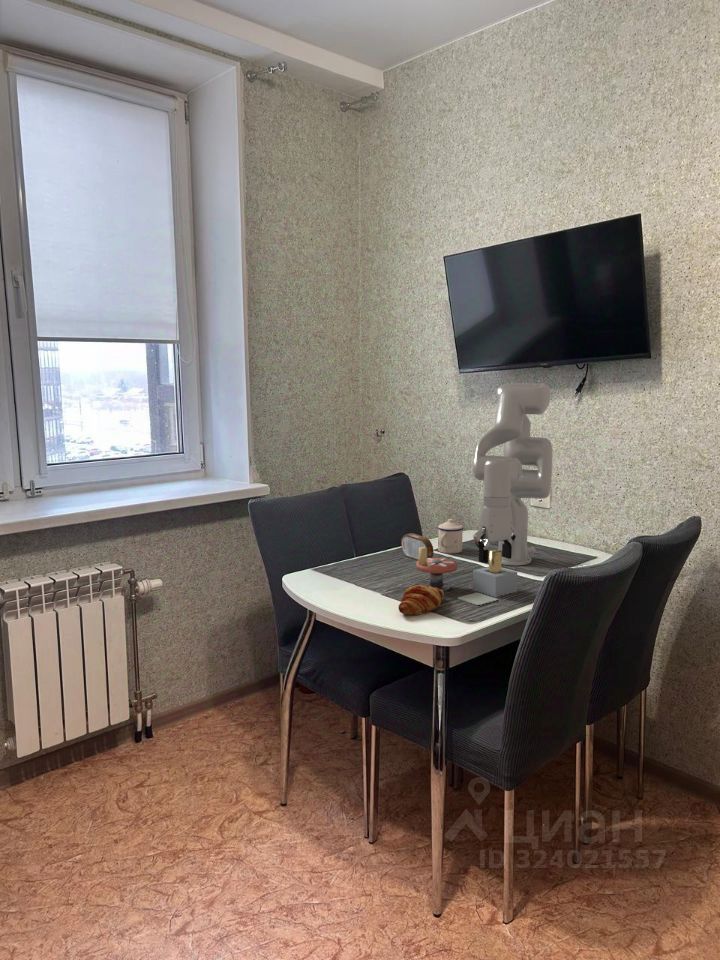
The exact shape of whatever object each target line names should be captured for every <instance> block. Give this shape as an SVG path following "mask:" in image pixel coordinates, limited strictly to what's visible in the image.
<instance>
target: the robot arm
mask: <svg viewBox="0 0 720 960" xmlns="http://www.w3.org/2000/svg"><path fill="white" fill-rule="evenodd" d="M495 395H496V402H497V404H496V405H497V407H496V412H495V417H494V418H495V419H494V423H493V424H494V425H493V427H492V428H491V429H489V430H488V431H486V432H485V434H484V435H483V436H482V437H481V438H480V439H479V441H478V442H477V444H476V446H475V451H474V454H473V462H472V474H473V477H474V479H476V480H478V481H483V503H482V504H483V506H481V509H480V511H479V512H480V513H479V516H478V517H479V518H478V526H477V527H478V528H477V531H476V532H475V533H474V534H473V535H472V537H473V540H474V544H475V545H476V546H477V549H478V562H479V563H483V564H489V549H488V548H489V546H490V544H491V543H498V548H497V550H501V551H502V565H506V566H527V565H529V564H530V563H531V562H532V558H531V557H530V556H529V555H530V554H533V553H536V548H535V547H534V546H532V547H528V530H529V528H528V527H529V526H528V525H529V510H528V508H527V505H526V504H525V503H524V501H522V499H538V500H541V499H546V498H548V497H549V496H550V494H551V489H552V476H553V474H552V473H553V472H552V469H553V446H552V442H551V441H550V440H549V438H547V437H540V436H539V437H538V436H536V437H535V436H532V435H531V426H532V425H531V424H532V423H531V421H530V419H529V416H528V415H543V414H544V413H545V412H546V411H547V409H548V408H549V405H550V402H551V396H552V395H551V389H550V387H549V385H548V384H546V383H539V382H537V383H533V382H532V383H526V382H525V383H522V382H519V383H518V382H515V383H514V382H513V383H511V382H510V383H504V384H501V385H499V386H498V387H497V388H496V393H495ZM500 445H503V452H502V453H503V455H502V456H501V455H487V453H488V452H489V451H490V450H492V449H493V448H496V447H497V446H500ZM523 466H532V467H535V468H537V469H526V468H523Z"/></svg>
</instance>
